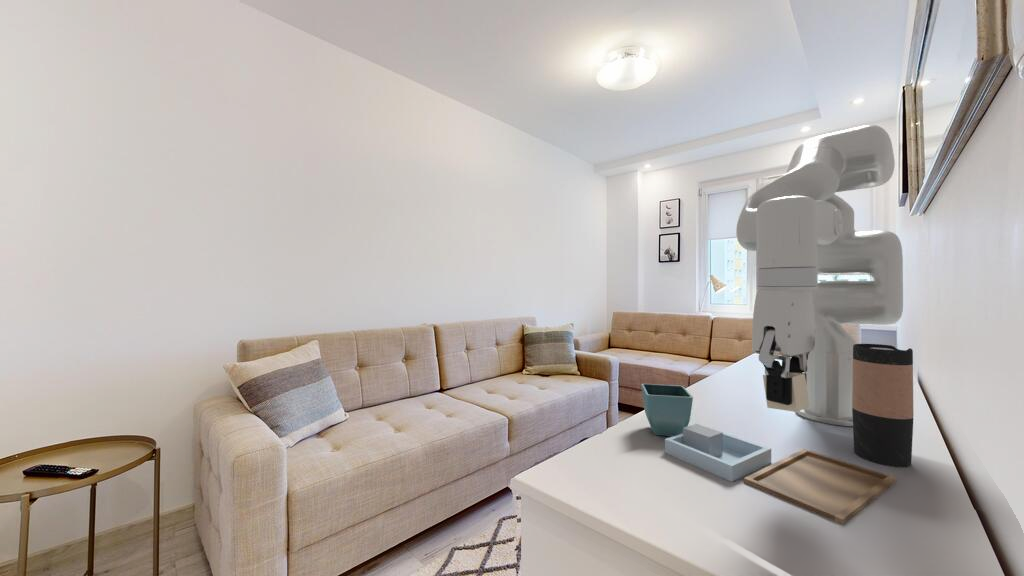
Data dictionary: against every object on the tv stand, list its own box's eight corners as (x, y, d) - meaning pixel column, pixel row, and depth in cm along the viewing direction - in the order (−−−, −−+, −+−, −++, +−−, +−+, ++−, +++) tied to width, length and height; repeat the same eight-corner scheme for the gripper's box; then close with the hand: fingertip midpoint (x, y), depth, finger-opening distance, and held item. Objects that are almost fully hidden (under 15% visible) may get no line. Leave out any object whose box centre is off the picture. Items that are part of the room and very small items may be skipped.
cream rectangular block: (780, 402, 60) (775, 371, 61) (809, 406, 57) (804, 373, 57) (767, 407, 58) (762, 375, 59) (797, 412, 55) (792, 377, 55)
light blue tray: (704, 441, 75) (704, 426, 75) (771, 466, 64) (771, 448, 64) (664, 455, 68) (664, 439, 68) (731, 485, 58) (731, 466, 58)
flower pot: (693, 442, 74) (693, 396, 74) (646, 438, 76) (646, 394, 76) (683, 426, 83) (682, 385, 83) (640, 423, 84) (640, 383, 84)
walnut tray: (803, 455, 68) (803, 448, 68) (895, 485, 58) (895, 477, 58) (743, 485, 58) (744, 478, 58) (842, 528, 48) (842, 519, 48)
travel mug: (851, 461, 66) (851, 347, 66) (852, 447, 71) (852, 342, 71) (915, 476, 61) (916, 352, 60) (911, 460, 66) (911, 346, 66)
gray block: (696, 423, 72) (722, 432, 67) (696, 444, 72) (722, 454, 67) (683, 427, 69) (709, 437, 65) (683, 449, 70) (709, 460, 65)
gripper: (784, 279, 65) (785, 385, 65) (730, 281, 56) (731, 403, 57) (839, 279, 58) (839, 396, 59) (787, 281, 50) (788, 418, 50)
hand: (786, 398), depth 58 cm, fingers closed on cream rectangular block, 3 cm apart
